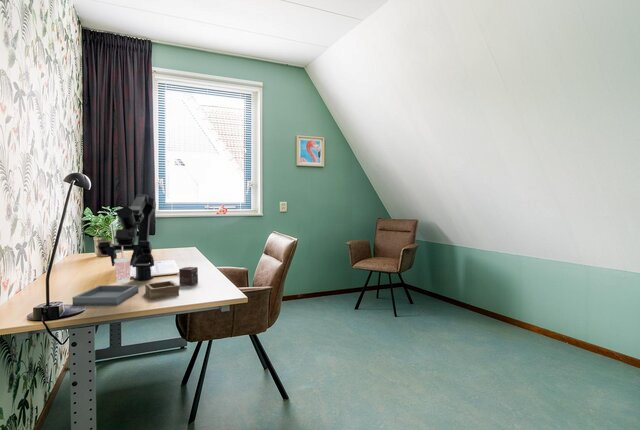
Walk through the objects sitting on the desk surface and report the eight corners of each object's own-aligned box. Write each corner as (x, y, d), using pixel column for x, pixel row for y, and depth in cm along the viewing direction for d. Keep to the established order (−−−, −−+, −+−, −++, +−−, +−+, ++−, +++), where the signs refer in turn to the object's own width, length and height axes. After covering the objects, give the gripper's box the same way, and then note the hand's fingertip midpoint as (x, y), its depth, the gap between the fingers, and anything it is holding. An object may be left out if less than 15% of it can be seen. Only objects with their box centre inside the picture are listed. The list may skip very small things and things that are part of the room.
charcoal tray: (99, 292, 160) (99, 285, 160) (138, 292, 160) (138, 285, 160) (72, 305, 142) (72, 297, 142) (116, 305, 142) (116, 297, 142)
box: (191, 286, 171) (191, 269, 171) (179, 285, 173) (178, 269, 172) (198, 282, 177) (198, 267, 177) (186, 282, 179) (186, 266, 178)
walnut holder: (145, 293, 159) (145, 284, 158) (171, 289, 165) (171, 280, 164) (151, 299, 150) (151, 289, 150) (178, 295, 156) (178, 285, 156)
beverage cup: (129, 278, 156) (128, 244, 155) (133, 281, 151) (132, 246, 150) (112, 281, 152) (111, 246, 151) (116, 284, 147) (115, 248, 146)
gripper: (98, 221, 152) (89, 254, 142) (149, 221, 155) (143, 252, 146) (106, 238, 160) (97, 270, 150) (154, 237, 164) (148, 269, 154)
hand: (121, 265), depth 150 cm, fingers closed on beverage cup, 6 cm apart
